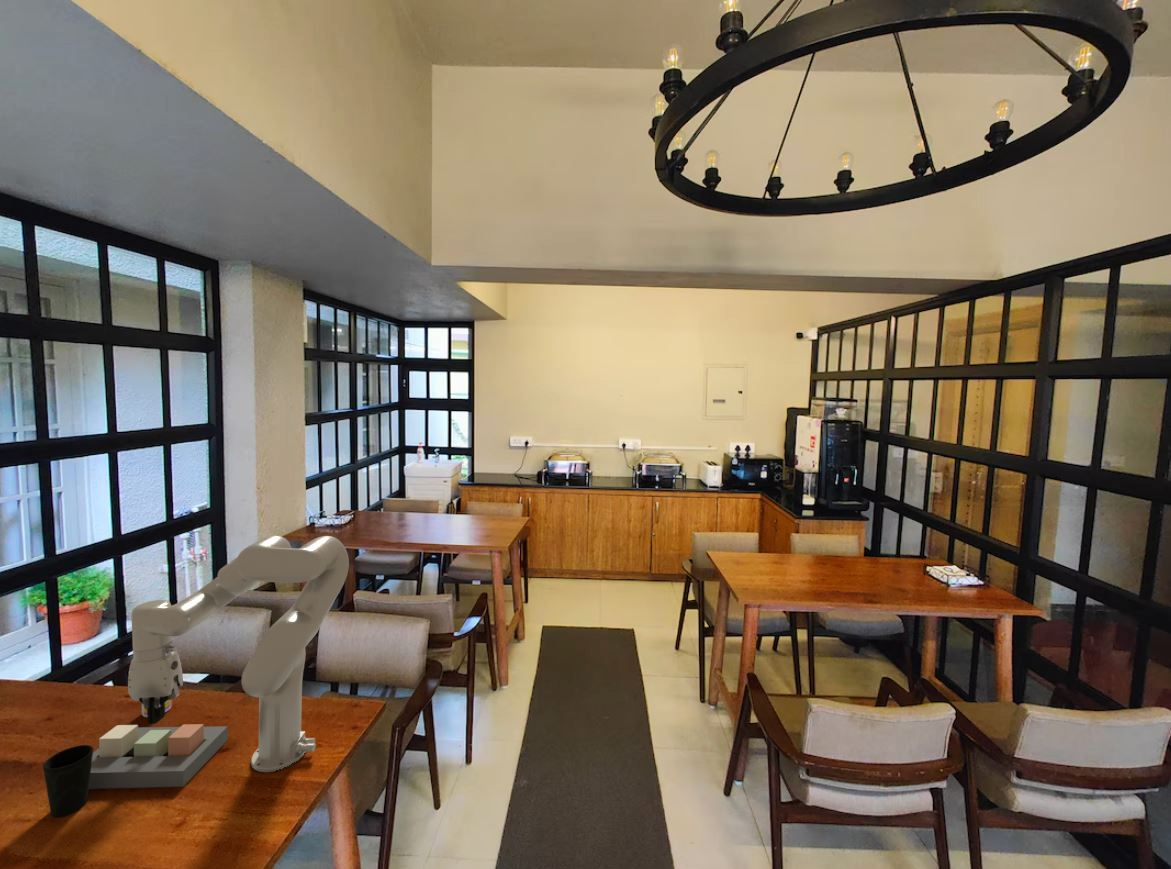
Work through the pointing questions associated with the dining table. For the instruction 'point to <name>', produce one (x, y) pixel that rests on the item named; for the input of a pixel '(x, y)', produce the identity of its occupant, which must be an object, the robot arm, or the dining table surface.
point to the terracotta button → (186, 740)
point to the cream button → (118, 741)
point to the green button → (152, 744)
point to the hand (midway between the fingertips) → (156, 720)
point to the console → (154, 764)
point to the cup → (68, 779)
